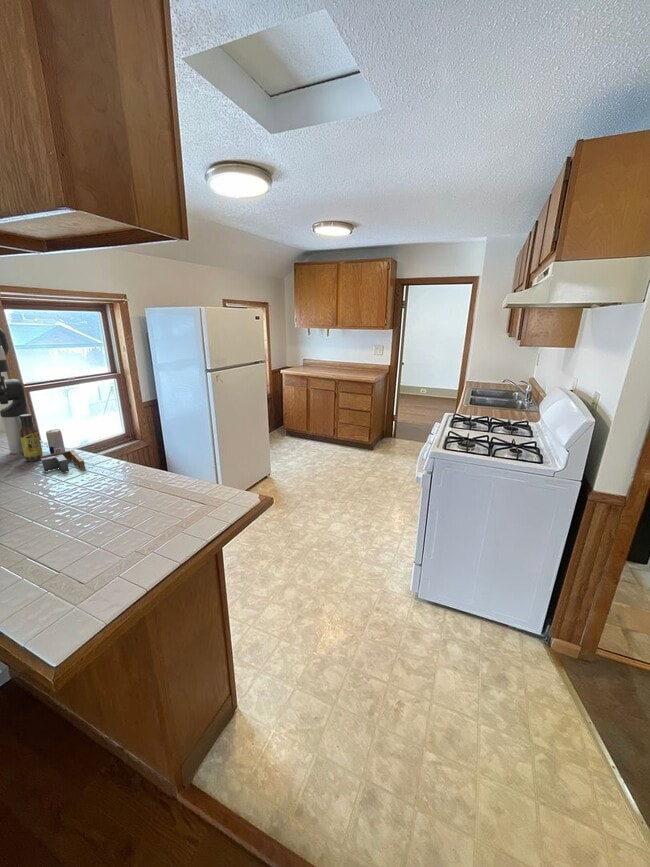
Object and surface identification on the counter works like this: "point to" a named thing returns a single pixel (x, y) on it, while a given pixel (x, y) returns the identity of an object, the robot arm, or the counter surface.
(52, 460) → the bracket
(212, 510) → the counter surface
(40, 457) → the sauce bottle
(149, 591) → the counter surface
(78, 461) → the brown angled frame
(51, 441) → the energy drink
